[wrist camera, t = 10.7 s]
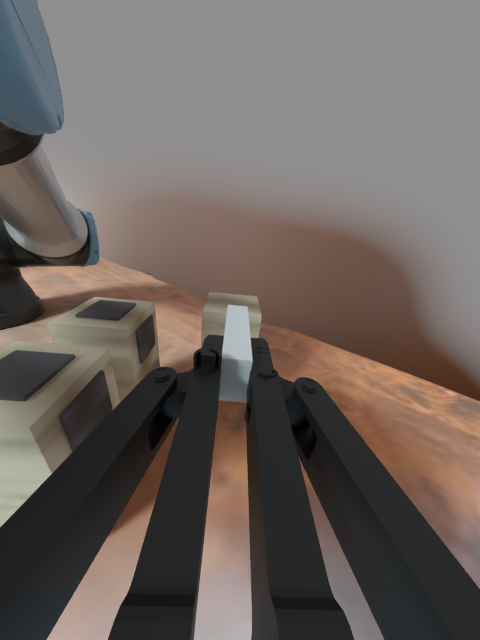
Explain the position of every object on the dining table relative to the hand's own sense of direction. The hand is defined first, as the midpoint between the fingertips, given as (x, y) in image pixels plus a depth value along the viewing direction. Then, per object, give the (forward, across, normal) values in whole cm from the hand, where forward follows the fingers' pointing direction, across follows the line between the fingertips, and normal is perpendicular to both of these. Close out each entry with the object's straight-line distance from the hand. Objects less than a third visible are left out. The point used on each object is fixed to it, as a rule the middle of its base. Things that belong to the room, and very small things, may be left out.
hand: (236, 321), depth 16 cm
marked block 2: (-4, -13, -17) cm, 22 cm away
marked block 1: (+6, -13, -17) cm, 22 cm away
